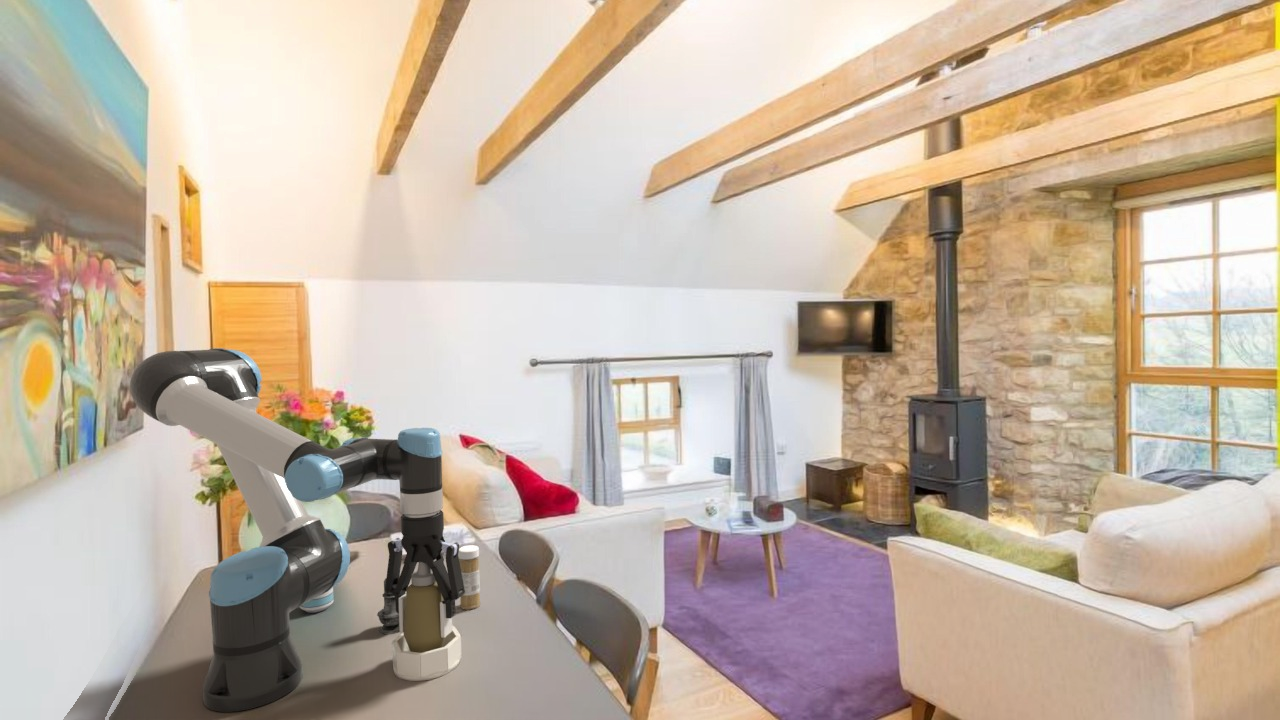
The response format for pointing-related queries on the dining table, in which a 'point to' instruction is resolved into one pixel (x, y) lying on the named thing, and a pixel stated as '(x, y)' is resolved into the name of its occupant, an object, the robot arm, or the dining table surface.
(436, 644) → the squeeze bottle
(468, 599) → the sprinkles bottle
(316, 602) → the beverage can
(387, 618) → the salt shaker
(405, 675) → the crock
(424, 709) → the dining table surface
